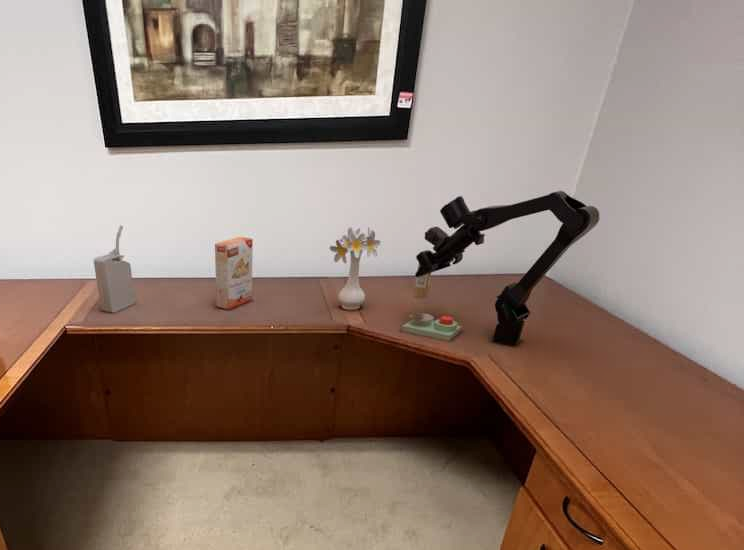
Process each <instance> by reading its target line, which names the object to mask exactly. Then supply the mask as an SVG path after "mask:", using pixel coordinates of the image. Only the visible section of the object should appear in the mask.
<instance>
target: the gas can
mask: <svg viewBox="0 0 744 550" xmlns="http://www.w3.org/2000/svg"><path fill="white" fill-rule="evenodd" d="M123 228H124V226H123V225H121V224H120V225H119V228H118V230H117V233H116V237H115V238H116V239H115V248H114V249H112V250H111V251H109V252H108V253H107V254H104V255H100V256H96V257H94V258H93V266H94V272H95V273H94V274H95V280H96V285H97V291H98V296H99V303H100V309H101V312H107V313H112V314H113V313H116V312H119V311H121V310H123V309H125V308H128V307H130V306H133V305H134V304H136V297H135V291H134V282H133V273H132V265H131V263H130V262H128V261H126V260H123V258H124V257H125V256H124V255H123V254H121V253H120V237H121V236H122V231H123Z"/></svg>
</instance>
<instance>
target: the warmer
mask: <svg viewBox="0 0 744 550" xmlns="http://www.w3.org/2000/svg"><path fill="white" fill-rule="evenodd" d="M440 319H441V318H440ZM440 319H436V320H434V319H433V320H432V321H427V322H421V321H415V320H412V319H410V320H409V321H408V322H406V323H405V324H403V325H402V329H401V331H402V332H406V333H410V334H415V335H420V336H424V337H429V338H434V339H439V340H443V341H449V342H450V341H451V340H452V339H453V338H454V337H456V336H457V335H458V334H459V333H461V330H462V325H458V322H457V321H455V320H453V322H452V325H443V324H440Z"/></svg>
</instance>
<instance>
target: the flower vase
mask: <svg viewBox="0 0 744 550" xmlns="http://www.w3.org/2000/svg"><path fill="white" fill-rule="evenodd" d="M360 231H361V228H357V229H356V230H355V231H354V230H353V228H352V227H349V228H348V229H347V235H346V234H342V237H341V238H340V240H339V239H336V241H335V244H336V246H335V245H330V246H329V250H330V251H331V252H333V253H335V255H334V257H333V261H334V262H335V263H338V262H339V261H340V260H341V261H342V262H343V263H344V264H347V256H346V254H348V252H349V254H350V264H349V272H348V278H347V282H346V283H345V286H344V287H343V288H342V289H341V290H340V291H339V292H338V296H337V300H338V302H339V304H341V308H342V309H344V310H346V311H347V310H349V311H356V310H359V309H360V307H361V305H363V303H365V301H366V293H365V292H364V290H363V288H361V285H360V282H359V272H360V261H361V257H362V255H363V252H364V251H366V255H367V257H370V256H371V254H372V255H373V257H374V258H377V257H378V252H377V249H378V247H380V245H381V241H380V239H376V232H375V231H374V230H373V229H371V228H370V227H369V226H367V234H366V233H365V232H362V233H360Z"/></svg>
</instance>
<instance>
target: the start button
mask: <svg viewBox="0 0 744 550" xmlns="http://www.w3.org/2000/svg"><path fill="white" fill-rule="evenodd" d="M453 321H454V318H453V317H452V316H449V315H443V316H440V324H443V325H452V322H453Z"/></svg>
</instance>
